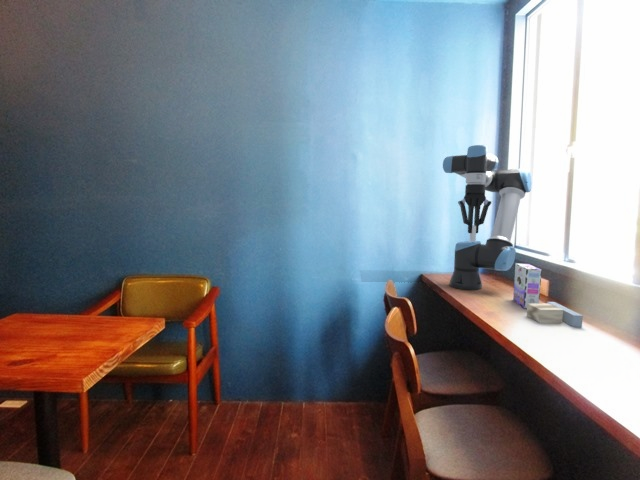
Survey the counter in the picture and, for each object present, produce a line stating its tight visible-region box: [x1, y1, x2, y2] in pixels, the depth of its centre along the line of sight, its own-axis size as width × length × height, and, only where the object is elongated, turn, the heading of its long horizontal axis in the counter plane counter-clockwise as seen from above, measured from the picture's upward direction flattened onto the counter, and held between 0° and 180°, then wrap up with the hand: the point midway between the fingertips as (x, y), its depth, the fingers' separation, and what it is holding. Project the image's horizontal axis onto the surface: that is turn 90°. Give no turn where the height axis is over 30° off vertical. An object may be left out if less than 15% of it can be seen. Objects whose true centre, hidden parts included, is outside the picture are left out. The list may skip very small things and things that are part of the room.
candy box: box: [512, 263, 543, 309], centre depth 150 cm, size 14×6×16 cm, turn 168°
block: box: [526, 302, 563, 324], centre depth 131 cm, size 8×8×5 cm
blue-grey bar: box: [546, 301, 584, 328], centre depth 132 cm, size 17×3×4 cm, turn 176°
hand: (472, 241), depth 150 cm, fingers closed
